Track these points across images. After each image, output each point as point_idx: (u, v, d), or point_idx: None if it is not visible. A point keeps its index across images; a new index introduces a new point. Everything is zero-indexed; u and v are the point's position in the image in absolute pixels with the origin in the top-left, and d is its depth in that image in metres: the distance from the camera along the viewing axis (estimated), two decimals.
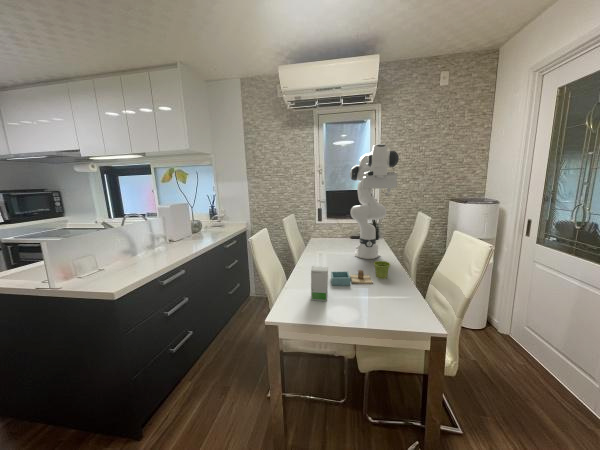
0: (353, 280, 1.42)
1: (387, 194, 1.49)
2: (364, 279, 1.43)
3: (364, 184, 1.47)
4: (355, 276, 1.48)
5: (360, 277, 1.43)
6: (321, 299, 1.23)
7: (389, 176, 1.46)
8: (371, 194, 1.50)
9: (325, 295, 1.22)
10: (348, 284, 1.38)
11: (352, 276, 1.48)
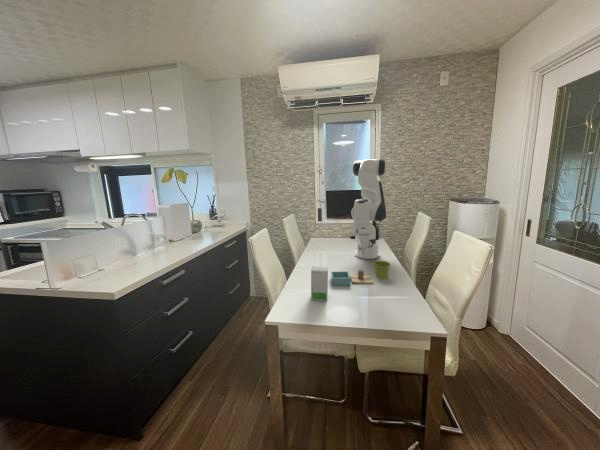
0: (353, 280, 1.42)
1: (361, 248, 1.46)
2: (364, 279, 1.43)
3: None
4: (355, 276, 1.48)
5: (360, 277, 1.43)
6: (321, 299, 1.23)
7: None
8: None
9: (325, 295, 1.22)
10: (348, 284, 1.38)
11: (352, 276, 1.48)
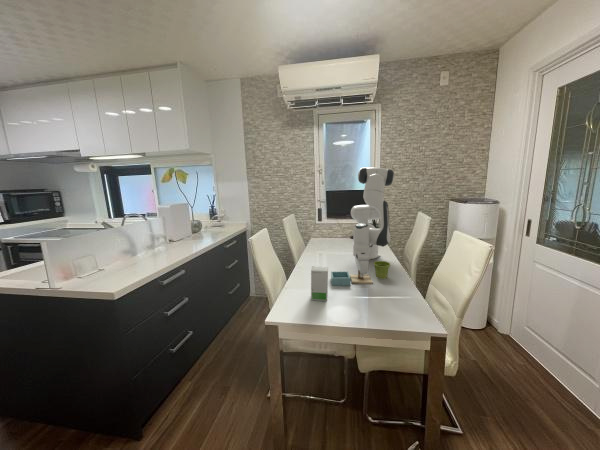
0: (353, 280, 1.42)
1: None
2: (364, 279, 1.43)
3: None
4: (355, 276, 1.48)
5: (360, 277, 1.43)
6: (321, 299, 1.23)
7: None
8: None
9: (325, 295, 1.22)
10: (348, 284, 1.38)
11: (352, 276, 1.48)
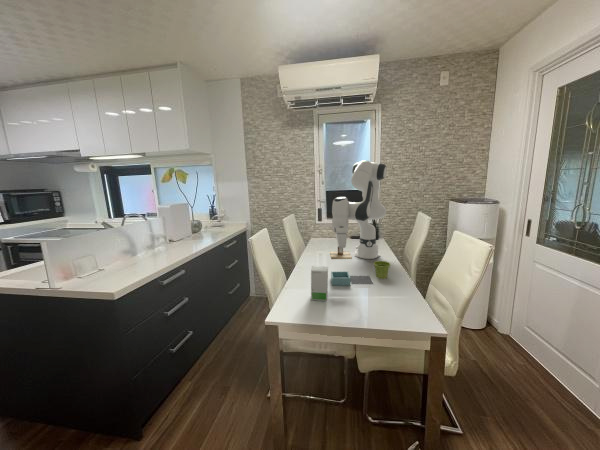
0: (332, 256, 1.37)
1: None
2: (344, 255, 1.38)
3: None
4: (335, 253, 1.43)
5: (339, 253, 1.38)
6: (321, 299, 1.23)
7: None
8: None
9: (325, 295, 1.22)
10: (348, 284, 1.38)
11: (332, 253, 1.43)
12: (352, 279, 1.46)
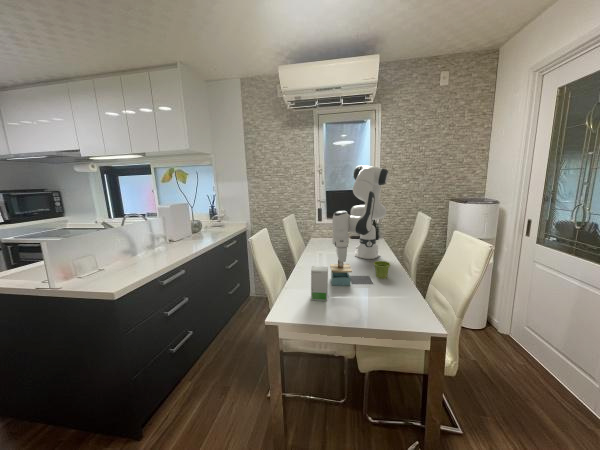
0: (332, 269, 1.38)
1: None
2: (344, 268, 1.39)
3: None
4: (335, 265, 1.44)
5: (340, 266, 1.40)
6: (321, 299, 1.23)
7: None
8: (342, 263, 1.38)
9: (325, 295, 1.22)
10: (348, 284, 1.38)
11: (332, 265, 1.44)
12: (352, 279, 1.46)
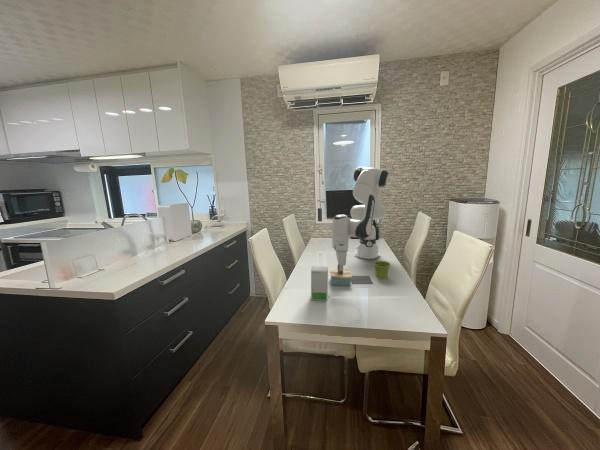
0: (332, 275, 1.39)
1: None
2: (343, 274, 1.40)
3: None
4: (335, 271, 1.45)
5: (339, 272, 1.40)
6: (321, 299, 1.23)
7: None
8: (342, 268, 1.38)
9: (325, 295, 1.22)
10: (348, 284, 1.38)
11: (332, 271, 1.45)
12: (352, 279, 1.46)
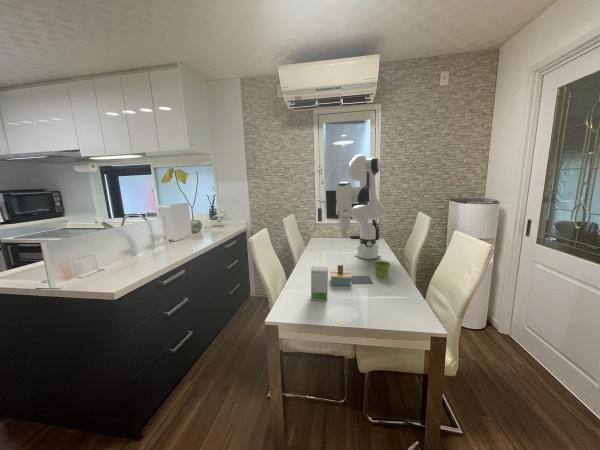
0: (332, 275, 1.39)
1: None
2: (343, 274, 1.40)
3: None
4: (335, 271, 1.45)
5: (339, 272, 1.40)
6: (321, 299, 1.23)
7: None
8: None
9: (325, 295, 1.22)
10: (348, 284, 1.38)
11: (332, 271, 1.45)
12: (352, 279, 1.46)
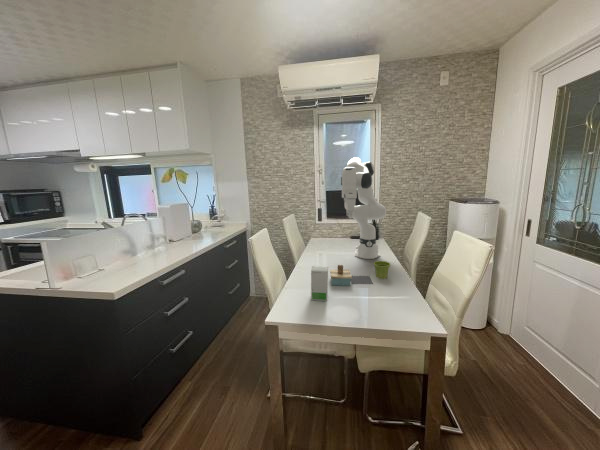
0: (332, 275, 1.39)
1: None
2: (343, 274, 1.40)
3: None
4: (335, 271, 1.45)
5: (339, 272, 1.40)
6: (321, 299, 1.23)
7: None
8: (351, 216, 1.48)
9: (325, 295, 1.22)
10: (348, 284, 1.38)
11: (332, 271, 1.45)
12: (352, 279, 1.46)
